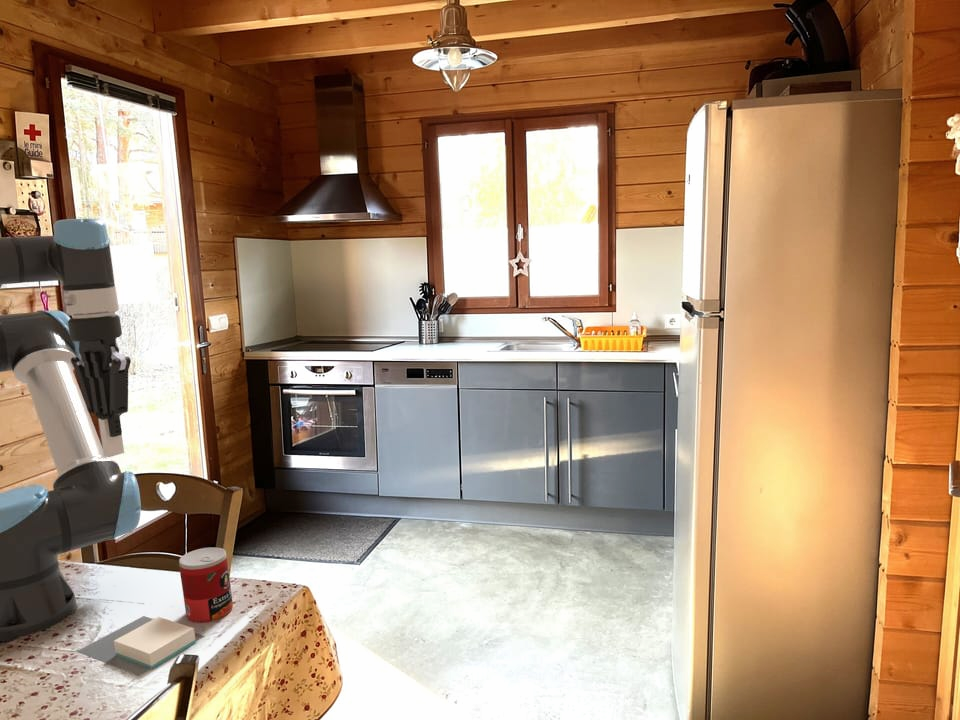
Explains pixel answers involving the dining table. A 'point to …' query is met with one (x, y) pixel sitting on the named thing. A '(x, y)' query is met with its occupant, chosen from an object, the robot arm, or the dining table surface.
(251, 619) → the dining table surface
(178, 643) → the tile
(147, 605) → the dining table surface
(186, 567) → the canned food
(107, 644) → the slate board
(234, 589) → the dining table surface
